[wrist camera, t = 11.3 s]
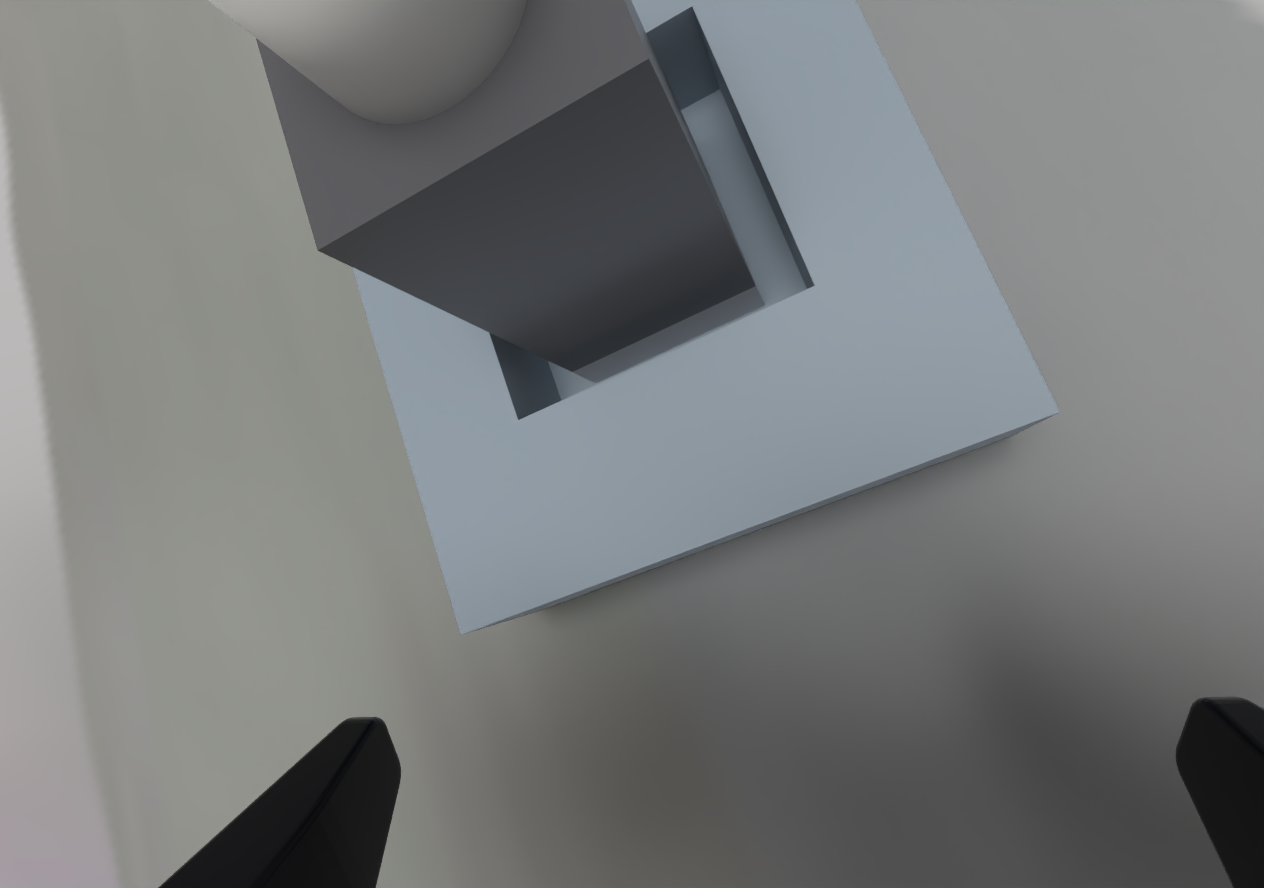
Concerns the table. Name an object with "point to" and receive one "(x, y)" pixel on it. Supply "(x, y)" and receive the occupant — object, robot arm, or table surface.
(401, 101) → the plug
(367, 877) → the robot arm
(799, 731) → the table surface
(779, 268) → the socket block
